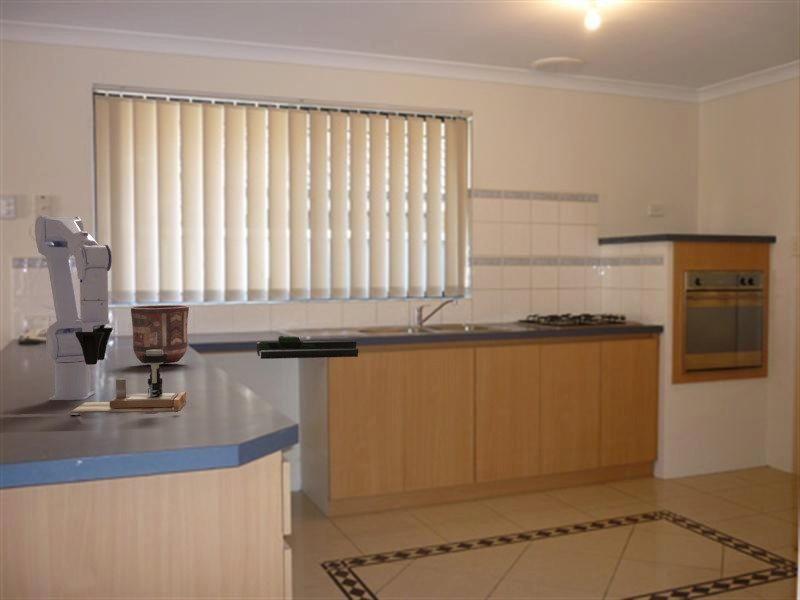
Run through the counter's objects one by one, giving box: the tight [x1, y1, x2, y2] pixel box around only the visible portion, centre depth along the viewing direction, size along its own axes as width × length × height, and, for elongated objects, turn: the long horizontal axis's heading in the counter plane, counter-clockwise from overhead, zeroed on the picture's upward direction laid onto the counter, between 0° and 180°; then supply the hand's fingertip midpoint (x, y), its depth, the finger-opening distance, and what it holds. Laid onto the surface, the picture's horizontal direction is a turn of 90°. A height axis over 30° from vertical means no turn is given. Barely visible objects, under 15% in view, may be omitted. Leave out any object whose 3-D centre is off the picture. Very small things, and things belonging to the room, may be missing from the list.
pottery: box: [130, 304, 190, 365], centre depth 256 cm, size 18×18×18 cm
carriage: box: [109, 378, 179, 408], centre depth 172 cm, size 8×13×6 cm, turn 97°
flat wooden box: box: [70, 391, 187, 414], centre depth 172 cm, size 11×22×3 cm, turn 97°
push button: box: [142, 349, 167, 397], centre depth 172 cm, size 7×5×10 cm
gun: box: [256, 335, 359, 360], centre depth 267 cm, size 6×35×8 cm, turn 101°
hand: (95, 362), depth 173 cm, fingers open, 7 cm apart
